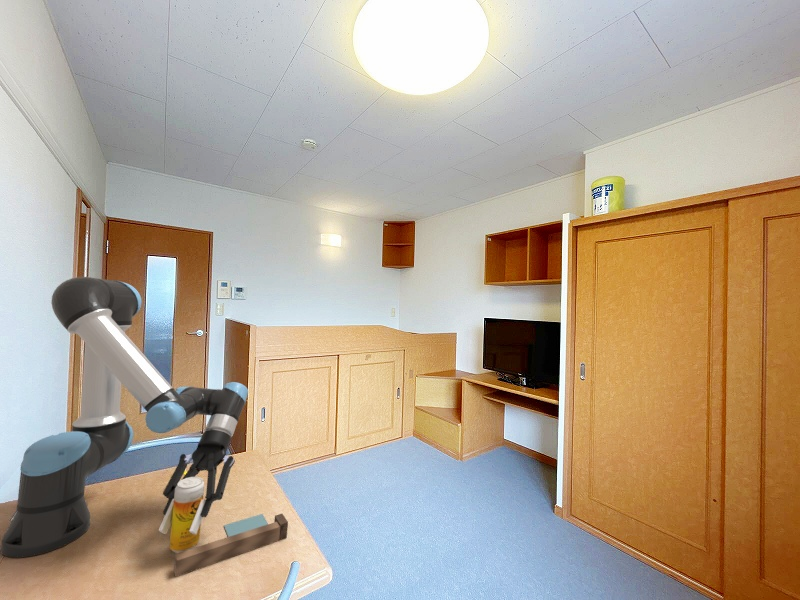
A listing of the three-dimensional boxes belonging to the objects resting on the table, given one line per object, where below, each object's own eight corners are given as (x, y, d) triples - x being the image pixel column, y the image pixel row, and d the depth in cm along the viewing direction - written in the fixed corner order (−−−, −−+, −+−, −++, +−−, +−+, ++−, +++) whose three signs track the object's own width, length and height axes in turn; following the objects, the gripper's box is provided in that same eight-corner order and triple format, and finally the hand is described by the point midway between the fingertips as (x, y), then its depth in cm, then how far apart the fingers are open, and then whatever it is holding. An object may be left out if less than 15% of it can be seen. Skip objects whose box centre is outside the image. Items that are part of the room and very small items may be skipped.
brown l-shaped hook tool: (175, 577, 73) (176, 558, 73) (173, 564, 77) (175, 546, 77) (286, 537, 88) (288, 522, 88) (281, 528, 92) (282, 513, 92)
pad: (231, 545, 84) (231, 544, 84) (223, 526, 91) (224, 525, 91) (271, 532, 90) (272, 530, 90) (262, 514, 97) (262, 513, 97)
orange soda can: (181, 557, 77) (187, 490, 77) (162, 549, 79) (169, 484, 80) (204, 541, 83) (210, 479, 83) (187, 534, 85) (193, 473, 85)
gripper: (255, 442, 98) (224, 537, 80) (187, 439, 96) (141, 535, 79) (249, 430, 92) (215, 529, 75) (178, 426, 91) (127, 526, 74)
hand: (177, 532), depth 77 cm, fingers closed on orange soda can, 6 cm apart
